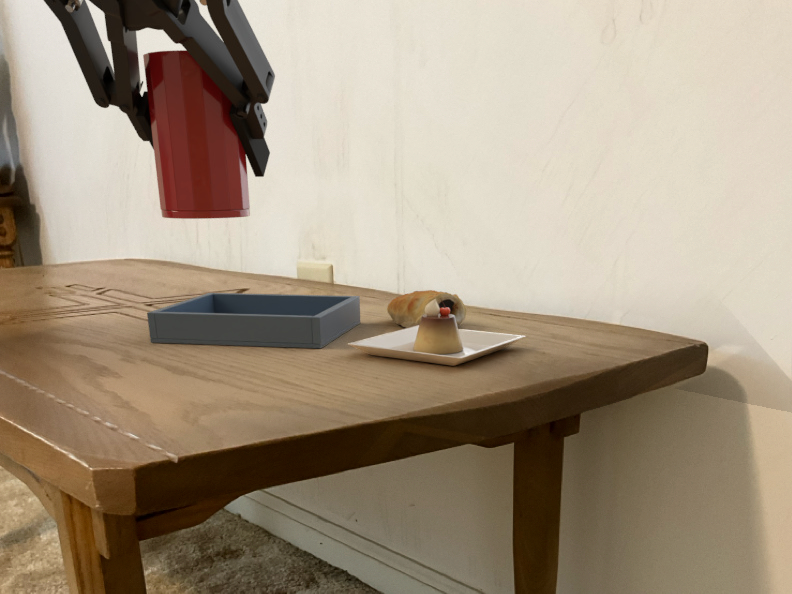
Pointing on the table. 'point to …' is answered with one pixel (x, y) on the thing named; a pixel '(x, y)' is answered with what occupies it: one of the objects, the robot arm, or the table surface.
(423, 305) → the pastry
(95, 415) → the table surface
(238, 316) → the serving tray
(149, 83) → the cup
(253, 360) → the table surface
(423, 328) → the dessert
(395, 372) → the table surface
